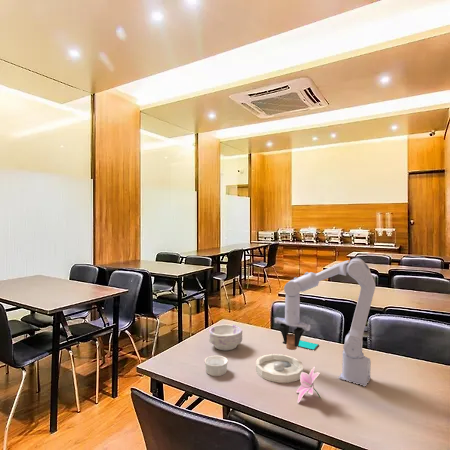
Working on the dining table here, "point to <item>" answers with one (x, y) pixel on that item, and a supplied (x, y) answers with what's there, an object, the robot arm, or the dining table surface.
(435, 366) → the dining table surface
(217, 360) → the ramekin
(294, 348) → the pepper mill
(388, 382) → the dining table surface
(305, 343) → the smartphone
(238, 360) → the dining table surface
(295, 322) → the robot arm
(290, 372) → the ring tray
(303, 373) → the lily
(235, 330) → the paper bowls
